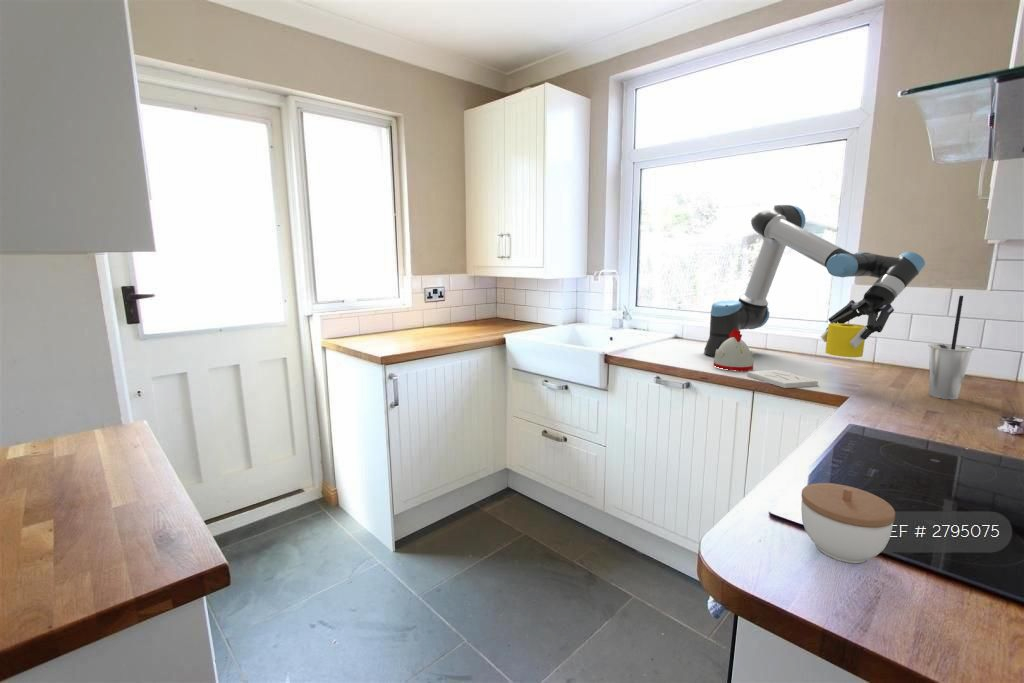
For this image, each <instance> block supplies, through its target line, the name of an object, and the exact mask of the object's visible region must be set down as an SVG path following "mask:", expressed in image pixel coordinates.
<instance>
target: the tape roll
mask: <svg viewBox="0 0 1024 683" xmlns="http://www.w3.org/2000/svg"><path fill="white" fill-rule="evenodd" d="M866 326H867V325H863V324H854V323H838V322H837V323H829V324H828V326H827V328H828V334H827V342H825V343H826V344H825V354H828V355H830V356H835V357H836V356H837V357H843V358H844V357H845V358H861V357H863V355H864V350H865V340H866V339H865V340H863V341H862V342H861V343H860V344H859V345H858V347H857V348H853V346H852V345H851V343H850V341H851V340H852V339H853V338H854V337H855V336H856V335H857V333H858V332H859V331H860V330H861V329H862V328H863V327H866ZM866 328H867V327H866Z"/></svg>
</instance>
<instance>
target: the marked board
mask: <svg viewBox="0 0 1024 683" xmlns="http://www.w3.org/2000/svg"><path fill="white" fill-rule="evenodd" d="M747 377H750V378H753V379H756V380H759V381H761V382H766V383H768V384H771V385H775V386H777V387H781V388H783V389H788V388H789V389H792V388H803V387H815V386H816V385H817V386H819V380H816V379H812V378H810V377H805V376H802V375H798V374H795V373H792V372H788V371H784V370H781V369H771V370H755V371H752V370H751V371H747ZM817 386H816V387H817Z"/></svg>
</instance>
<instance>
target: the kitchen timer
mask: <svg viewBox="0 0 1024 683" xmlns="http://www.w3.org/2000/svg"><path fill="white" fill-rule="evenodd" d="M742 336H743V334H741V330H739V331H738V329H737V330H736V329H733V331H731V334H729V339H727V340H726V341H724V342H723V343H722V344H721V346H720V347H719V349H716V353H715V357H714V359H713V367H714V366H716V367H719V368H723V369H728V370H736V371H735V372H750V371H752V370H753V369H754V360H753V357H754V352H753V350H752V349H750V348H749V347H748V344H747V343H746V342H745V340H743V339H742ZM728 370H727V371H728ZM749 370H750V371H749Z"/></svg>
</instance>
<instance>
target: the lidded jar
mask: <svg viewBox="0 0 1024 683" xmlns="http://www.w3.org/2000/svg"><path fill="white" fill-rule="evenodd" d="M800 510H801V520H802V525H803V527H804V530H805V532H806V534H807V535H808V537H809V539H810V540H811V541H812V542H813V543H814V544H815V547H816V546H817V547H818V548H817V547H816V548H817V550H819V551H820V552H821V553H823V555H825V556H827V557H829V558H831V559H834V560H836V561H839V562H842V563H847V564H862V563H865V562H867V560H870V559H872V558H874V557H876V556H878V555H879V554H880V553H882V552H883V551H884V550H885V548H886V546H887V545H888V542H889V541H890V539H891V536H892V530H893V528H894V527H893V525H894V522H895V519H896V511H895V509H894V507H893V506H892V505H891V504H890V503H889V502H887V501H886V500H885V499H884V498H882V497H879V496H878V495H876V494H873V493H871V492H869V491H866V490H863V489H860V488H857V487H853V486H849V485H845V484H839V483H833V482H832V483H831V482H817V483H816V482H815V483H811V484H808V485H806V486H804V487H803V488H802V490H801V509H800Z"/></svg>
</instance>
